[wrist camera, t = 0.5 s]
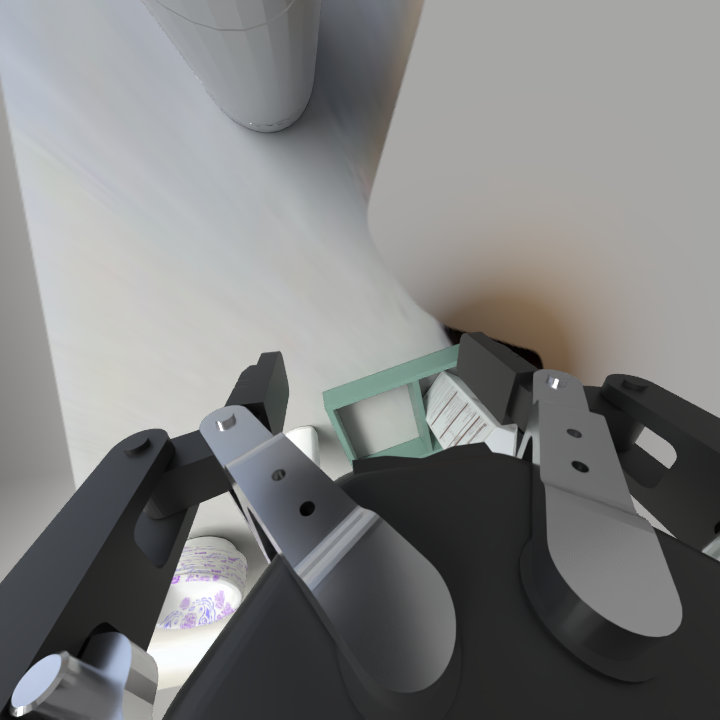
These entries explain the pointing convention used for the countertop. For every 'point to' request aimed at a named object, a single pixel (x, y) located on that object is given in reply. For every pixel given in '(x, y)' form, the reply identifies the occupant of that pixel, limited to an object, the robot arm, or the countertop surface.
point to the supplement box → (463, 417)
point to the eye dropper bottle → (306, 442)
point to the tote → (387, 381)
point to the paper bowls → (204, 584)
